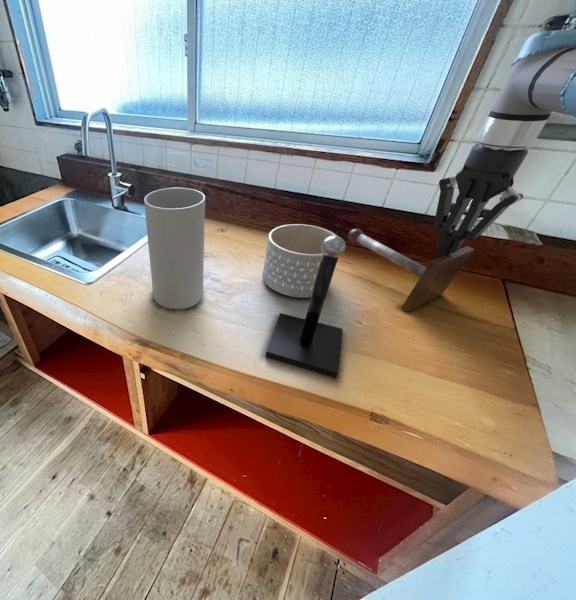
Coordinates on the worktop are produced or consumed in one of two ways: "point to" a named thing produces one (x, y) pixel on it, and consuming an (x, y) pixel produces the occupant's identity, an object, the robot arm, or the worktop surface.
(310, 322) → the black holder
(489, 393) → the worktop surface
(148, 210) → the cylinder vase
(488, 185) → the robot arm
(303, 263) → the planter
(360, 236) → the paper towel stand
